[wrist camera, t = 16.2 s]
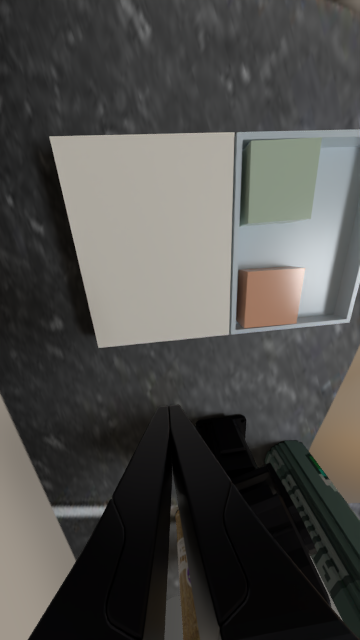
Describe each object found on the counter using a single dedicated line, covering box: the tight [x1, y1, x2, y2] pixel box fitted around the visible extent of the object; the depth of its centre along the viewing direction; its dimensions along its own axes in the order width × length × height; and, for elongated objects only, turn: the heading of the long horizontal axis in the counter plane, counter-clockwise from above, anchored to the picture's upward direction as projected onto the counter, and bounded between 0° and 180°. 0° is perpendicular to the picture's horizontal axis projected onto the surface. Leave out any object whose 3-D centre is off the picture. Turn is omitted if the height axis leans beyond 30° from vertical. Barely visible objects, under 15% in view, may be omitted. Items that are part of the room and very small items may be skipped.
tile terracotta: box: [236, 266, 305, 328], centre depth 18 cm, size 5×5×2 cm
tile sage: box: [239, 137, 322, 227], centre depth 15 cm, size 5×5×2 cm
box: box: [229, 129, 360, 334], centre depth 17 cm, size 15×12×2 cm
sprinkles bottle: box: [175, 510, 200, 640], centre depth 25 cm, size 5×5×13 cm
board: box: [49, 132, 234, 348], centre depth 16 cm, size 15×12×2 cm
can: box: [265, 441, 360, 639], centre depth 22 cm, size 6×6×15 cm
